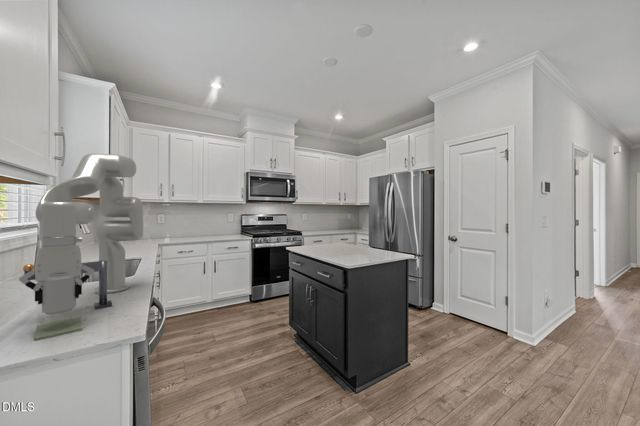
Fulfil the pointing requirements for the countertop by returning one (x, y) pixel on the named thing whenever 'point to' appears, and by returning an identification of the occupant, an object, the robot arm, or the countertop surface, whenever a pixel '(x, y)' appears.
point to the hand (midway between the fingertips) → (59, 299)
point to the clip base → (102, 305)
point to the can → (58, 294)
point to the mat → (58, 328)
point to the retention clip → (97, 266)
